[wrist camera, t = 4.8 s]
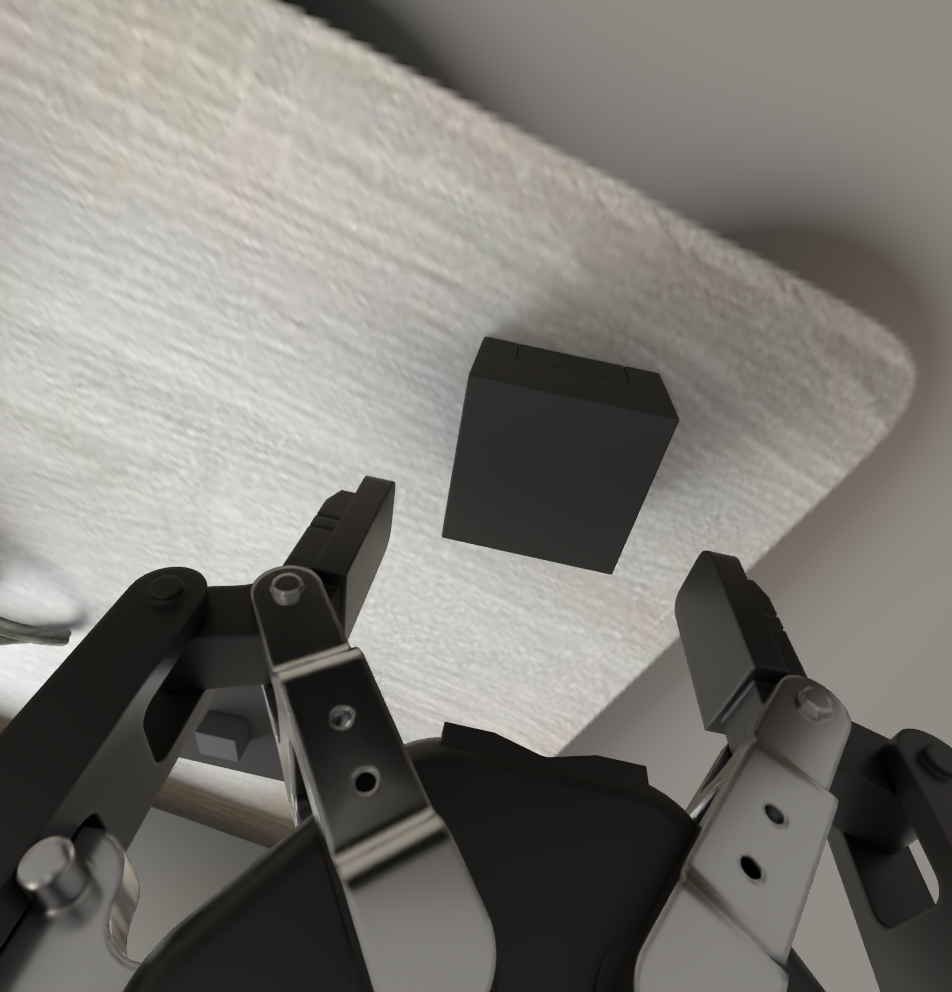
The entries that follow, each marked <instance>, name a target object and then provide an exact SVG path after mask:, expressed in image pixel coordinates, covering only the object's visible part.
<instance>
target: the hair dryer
mask: <svg viewBox="0 0 952 992" xmlns="http://www.w3.org/2000/svg"><path fill="white" fill-rule="evenodd" d="M70 635H71V632H70V630H67V629H65V628H59V629H43V628H39V627H35V626H30V625H26V624H22V623H18V622H14V621H10V620H8V619H5V618H3V617H0V645H8V644H20V643H34V644H41V645H50V646H65V645H66V644H67V643H68V642H69V637H70Z"/></svg>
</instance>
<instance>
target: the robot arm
mask: <svg viewBox="0 0 952 992" xmlns="http://www.w3.org/2000/svg"><path fill="white" fill-rule="evenodd" d="M394 495H395V482H394V481H389V480H384V479H380V478H375V477H371V476H365V478H364V479H363V481H362V483H361V484H360V486H359V488H358V489H357V491H356V493H353V492H348V491H344V490H341V491H339V492H338V493H336V494H335V495H333V496H331V497H330V498H328V499H327V500H326V501H325V502H324V504H323V505H322V507H321V508H320V510H319V511H318V514H317V516H315V518H314V519H313V521H312V522H311V524H310V526H309V527H308V528H307V530H306V531H305V533H304V534H303V536H302V537H301V539H300V540H299V542H298V543H297V545H296V546H295V548H294V549H293V551H292V552H291V554H290V555H289V557H288V558H287V560H286V561H285V563H284V564H283V566H280V567H276V568H273V569H270V570H268V571H266V572H265V573H263V574H262V575H260V576H259V577H258V578H257V579H256V580H255V582H254V583H253V584H248V585H238V586H209V587H207V582H206V579H205V578H204V576H203V575H202V574H201V573H199V572H198V571H196V570H193V569H190V568H186V567H168V568H162V569H158V570H155V571H152V572H150V573H148V574H145V575H144V576H142V577H140V578H139V579H137V580H136V581H135V582H134V583H133V584H132V585H131V586H130V587H129V588H128V589H127V590H126V591H125V592H124V594H123V595H122V596H121V597H120V598H119V599H118V600H117V602H116V603H115V604H114V605H113V606H112V607H111V608H110V610H109V611H108V612H107V613H106V614H105V615H104V616H103V618H102V619H101V620H100V621H99V622H98V623H97V624H96V625H95V627H94V628H93V629H92V630H91V631H90V632H89V633H88V635H87V636H86V637H85V638H84V639H83V640H82V641H81V643H80V644H79V645H78V646H77V647H76V648H75V649H74V650H73V652H72V653H71V654H70V655H69V656H68V657H67V658H66V660H65V661H64V662H63V663H62V664H61V665H60V666H59V668H58V669H57V670H56V671H55V672H54V673H53V674H52V675H51V677H50V678H49V679H48V680H47V681H46V682H45V683H44V685H43V686H42V687H41V688H40V689H39V690H38V691H37V693H36V694H35V695H34V696H33V697H32V698H31V699H30V700H29V702H28V703H27V704H26V705H25V706H24V707H23V708H22V710H21V711H20V712H19V713H18V714H17V715H16V716H15V718H14V719H13V720H12V721H11V722H10V723H9V724H8V725H7V727H6V728H5V729H4V730H3V731H2V732H1V733H0V992H826V991H825V990H824V989H823V987H822V986H821V985H820V983H819V982H818V981H817V980H816V978H815V977H814V976H813V974H812V973H811V972H810V970H809V969H808V968H807V966H806V965H805V964H804V962H803V961H802V960H801V959H800V957H799V956H798V955H797V953H796V952H795V951H794V949H793V948H792V947H791V945H792V942H793V939H794V936H795V933H796V930H797V927H798V924H799V921H800V918H801V915H802V912H803V909H804V906H805V903H806V900H807V897H808V894H809V891H810V888H811V885H812V882H813V879H814V876H815V873H816V870H817V867H818V864H819V861H820V858H821V854H822V852H823V849H824V846H825V843H826V840H827V839H828V842H829V845H830V848H831V851H832V854H833V856H834V859H835V862H836V865H837V868H838V871H839V874H840V876H841V879H842V882H843V885H844V888H845V891H846V894H847V897H848V900H849V902H850V905H851V908H852V911H853V914H854V917H855V919H856V923H857V925H858V928H859V931H860V934H861V937H862V940H863V943H864V946H865V949H866V951H867V954H868V957H869V960H870V963H871V966H872V968H873V971H874V974H875V977H876V980H877V983H878V986H879V989H880V992H952V748H951V747H950V746H948V745H947V744H946V743H944V742H943V741H941V740H940V739H938V738H936V737H934V736H932V735H930V734H928V733H926V732H923V731H920V730H916V729H903V730H901V731H900V732H899V733H897V734H896V735H895V736H894V737H893V738H892V739H888V738H886V737H884V736H882V735H880V734H877V733H875V732H873V731H871V730H869V729H867V728H865V727H863V726H861V725H859V724H856V723H854V722H852V721H851V719H850V717H849V714H848V712H847V710H846V709H845V707H844V705H843V704H842V703H841V702H840V701H839V699H838V698H837V697H836V696H835V695H834V694H833V693H832V692H830V691H829V690H828V689H826V688H825V687H824V686H822V685H821V684H819V683H817V682H816V681H813V680H811V679H809V678H807V676H806V674H805V672H804V669H803V667H802V665H801V663H800V661H799V659H798V657H797V655H796V653H795V651H794V649H793V647H792V645H791V642H790V640H789V639H788V636H787V634H786V632H785V631H783V626H782V624H781V622H780V620H779V618H778V617H776V615H777V613H776V611H775V609H774V607H773V605H772V603H771V601H770V599H769V597H768V596H767V595H766V594H765V593H764V592H763V591H762V589H761V588H760V587H759V586H758V585H757V584H756V583H755V582H754V581H753V580H748V579H747V577H746V574H745V572H744V570H743V568H742V566H741V563H740V561H739V560H738V558H737V557H735V556H730V555H725V554H721V553H716V552H712V551H707V550H705V551H703V552H702V553H701V554H700V555H699V557H698V558H697V560H696V562H695V564H694V565H693V567H692V569H691V571H690V573H689V574H688V576H687V578H686V580H685V581H684V583H683V585H682V587H681V589H680V590H679V592H678V595H677V598H676V602H675V617H676V621H677V624H678V628H679V632H680V636H681V640H682V644H683V647H684V651H685V655H686V659H687V663H688V667H689V670H690V674H691V678H692V682H693V685H694V690H695V694H696V697H697V701H698V705H699V708H700V713H701V717H702V720H703V724H704V728H705V730H707V731H711V732H716V733H721V734H725V735H726V738H727V741H728V743H727V745H726V746H725V747H724V748H723V749H722V751H721V752H720V754H719V756H718V757H717V759H716V760H715V762H714V764H713V765H712V767H711V769H710V770H709V772H708V774H707V775H706V777H705V779H704V780H703V782H702V784H701V785H700V787H699V789H698V790H697V792H696V794H695V796H694V797H693V799H692V801H691V802H690V804H689V805H688V807H687V808H686V810H684V809H683V808H681V807H680V806H679V805H678V804H677V803H676V802H675V801H673V800H672V799H670V798H669V797H668V796H667V795H665V794H663V793H662V792H660V791H659V790H657V789H656V788H654V787H652V786H650V785H649V783H648V776H647V770H646V766H643V765H638V764H634V763H629V762H625V761H620V760H615V759H611V758H606V757H602V756H597V755H592V756H570V757H544V756H541V755H539V754H537V753H535V752H533V751H531V750H529V749H527V748H524V747H522V746H520V745H518V744H516V743H514V742H512V741H510V740H508V739H506V738H504V737H502V736H500V735H498V734H496V733H494V732H489V731H484V730H480V729H475V728H471V727H466V726H462V725H457V724H453V723H448V722H445V723H444V727H443V731H442V735H441V737H434V738H426V739H420V740H416V741H413V742H410V743H406V744H404V743H403V741H402V739H401V737H400V734H399V732H398V730H397V728H396V725H395V723H394V721H393V719H392V716H391V714H390V712H389V710H388V708H387V705H386V703H385V701H384V699H383V696H382V694H381V692H380V690H379V687H378V685H377V683H376V681H375V679H374V676H373V674H372V672H371V670H370V667H369V665H368V663H367V661H366V658H365V656H364V654H363V653H362V651H361V650H360V649H359V648H358V647H353V648H351V647H350V645H349V643H348V638H349V636H350V634H351V631H352V629H353V627H354V624H355V622H356V620H357V617H358V615H359V613H360V610H361V608H362V605H363V603H364V601H365V598H366V596H367V594H368V591H369V589H370V587H371V584H372V582H373V580H374V577H375V575H376V573H377V570H378V568H379V566H380V563H381V561H382V558H383V556H384V554H385V551H386V549H387V545H388V542H389V538H390V533H391V525H392V515H393V505H394ZM253 685H261V687H262V691H263V694H264V698H265V702H266V706H267V710H268V713H269V717H270V721H271V725H272V729H273V732H274V736H275V740H276V744H277V748H278V751H279V756H280V760H281V765H282V770H283V776H284V781H285V786H286V791H287V795H288V799H289V803H290V807H291V811H292V815H293V819H294V822H295V826H296V828H294V829H293V830H292V831H291V832H290V833H288V834H287V835H286V836H285V837H283V838H282V839H281V840H280V841H279V842H277V843H276V844H275V845H274V846H273V847H271V848H270V849H269V850H268V851H266V852H265V853H264V854H263V855H262V856H260V857H259V858H258V859H257V860H256V861H254V862H253V863H252V864H251V865H249V866H248V867H247V868H246V869H245V870H243V871H242V872H241V873H240V874H239V875H237V876H236V877H235V878H234V879H232V880H231V881H230V882H229V883H228V884H227V885H225V886H224V887H223V888H222V889H220V890H219V891H218V892H217V893H215V894H214V895H213V896H212V897H211V898H209V899H208V900H207V901H206V902H205V903H203V904H202V905H201V906H200V907H198V908H197V909H196V910H195V911H194V912H193V913H191V914H190V915H189V916H188V917H186V918H185V919H184V920H183V921H181V922H180V923H179V924H178V925H177V926H176V927H174V928H173V929H172V930H171V931H170V932H169V933H168V934H167V935H166V936H165V937H164V938H163V939H162V940H161V941H160V942H159V943H158V944H157V945H156V946H155V947H154V949H153V950H152V951H151V952H150V953H149V954H148V956H147V957H146V958H145V959H144V961H143V962H142V963H139V962H135V961H132V960H130V959H128V956H127V936H128V932H129V927H130V924H131V921H132V918H133V916H134V913H135V910H136V908H137V904H138V899H139V891H140V886H139V880H138V877H137V874H136V872H135V870H134V868H133V866H132V864H131V862H130V860H129V858H128V856H127V854H126V851H127V849H128V847H129V846H130V844H131V842H132V840H133V838H134V836H135V835H136V833H137V831H138V829H139V828H140V826H141V824H142V822H143V820H144V818H145V817H146V815H147V813H148V811H149V810H150V808H151V806H152V804H153V802H154V801H155V799H156V797H157V795H158V793H159V792H160V790H161V788H162V786H163V784H164V783H165V781H166V779H167V777H168V775H169V773H170V772H171V770H172V768H173V766H174V764H175V763H176V761H177V759H178V757H179V755H180V754H181V752H182V750H183V748H184V746H185V745H186V743H187V741H188V739H189V737H190V736H191V734H192V732H193V730H194V728H195V727H196V725H197V723H198V721H199V719H200V718H201V716H202V714H203V712H204V710H205V709H206V707H207V705H208V703H209V701H210V700H211V698H212V696H213V694H214V692H215V691H216V689H217V688H229V687H241V686H253ZM917 839H919V842H920V844H921V846H922V848H923V850H924V852H925V854H926V856H927V858H928V860H929V862H930V864H931V866H932V869H933V871H934V873H935V875H936V877H937V880H938V885H939V898H938V901H937V903H936V904H935V903H934V901H933V898H932V896H931V894H930V892H929V890H928V888H927V885H926V883H925V881H924V879H923V877H922V875H921V872H920V870H919V868H918V866H917V864H916V862H915V859H914V857H913V855H912V853H911V851H910V849H909V847H908V845H909V844H911V843H912V842H914V841H915V840H917Z"/></svg>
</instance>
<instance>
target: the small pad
mask: <svg viewBox="0 0 952 992" xmlns="http://www.w3.org/2000/svg"><path fill="white" fill-rule="evenodd" d="M678 422H679V417H678V415H677V413H676V410H675V408H674V406H673V404H672V402H671V399H670V397H669V395H668V393H667V390H666V388H665V386H664V383H663V381H662V379H661V377H660V374H658V373H653V372H648V371H644V370H639V369H634V368H630V367H625V368H624V367H623V366H619V365H614V364H609V363H605V362H600V361H595V360H591V359H586V358H581V357H577V356H572V355H567V354H562V353H558V352H553V351H548V350H544V349H539V348H534V347H530V346H525V345H520V346H519V344H517V343H512V342H508V341H503V340H498V339H494V338H489V337H484V339H483V341H482V344H481V346H480V349H479V351H478V354H477V356H476V359H475V361H474V363H473V366H472V368H471V371H470V373H469V376H468V382H467V388H466V394H465V400H464V406H463V412H462V418H461V423H460V429H459V435H458V441H457V447H456V453H455V459H454V465H453V471H452V477H451V483H450V489H449V495H448V501H447V507H446V513H445V519H444V525H443V531H442V537H443V538H447V539H452V540H456V541H461V542H466V543H470V544H475V545H479V546H484V547H488V548H493V549H497V550H502V551H506V552H511V553H515V554H520V555H524V556H529V557H533V558H538V559H543V560H547V561H552V562H556V563H561V564H565V565H570V566H574V567H579V568H583V569H588V570H592V571H597V572H601V573H606V574H612V573H613V571H614V568H615V566H616V564H617V562H618V559H619V557H620V555H621V552H622V550H623V548H624V545H625V543H626V541H627V539H628V536H629V534H630V532H631V529H632V527H633V525H634V523H635V520H636V518H637V516H638V513H639V511H640V509H641V507H642V504H643V502H644V500H645V497H646V495H647V493H648V491H649V488H650V486H651V484H652V481H653V479H654V477H655V475H656V472H657V470H658V468H659V465H660V463H661V461H662V459H663V456H664V454H665V452H666V449H667V447H668V445H669V443H670V440H671V438H672V436H673V433H674V431H675V429H676V427H677V424H678Z"/></svg>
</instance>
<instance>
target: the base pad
mask: <svg viewBox="0 0 952 992" xmlns="http://www.w3.org/2000/svg"><path fill="white" fill-rule="evenodd" d="M179 757H180V758H185V759H189V760H193V761H198V762H202V763H206V764H211V765H215V766H219V767H224V768H228V769H232V770H237V771H241V772H245V773H250V774H254V775H258V776H263V777H267V778H271V779H276V780H280V781H284V776H283V770H282V765H281V760H280V756H279V751H278V748H277V744H276V740H275V736H274V732H273V729H272V725H271V721H270V717H269V713H268V710H267V706H266V702H265V698H264V694H263V691H262V687H261V685H253V686H241V687H229V688H217V689H216V691H215V692H214V694H213V696H212V698H211V700H210V701H209V703H208V705H207V707H206V709H205V710H204V712H203V714H202V716H201V718H200V719H199V721H198V723H197V725H196V727H195V728H194V730H193V732H192V734H191V736H190V737H189V739H188V741H187V743H186V745H185V746H184V748H183V750H182V752H181V754H180V755H179ZM284 782H285V781H284Z"/></svg>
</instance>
